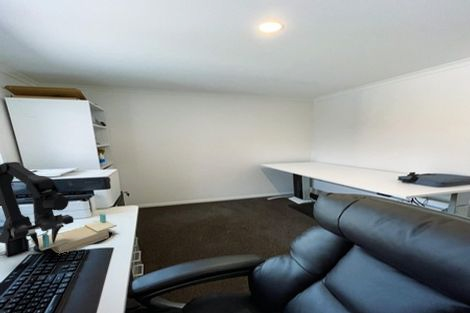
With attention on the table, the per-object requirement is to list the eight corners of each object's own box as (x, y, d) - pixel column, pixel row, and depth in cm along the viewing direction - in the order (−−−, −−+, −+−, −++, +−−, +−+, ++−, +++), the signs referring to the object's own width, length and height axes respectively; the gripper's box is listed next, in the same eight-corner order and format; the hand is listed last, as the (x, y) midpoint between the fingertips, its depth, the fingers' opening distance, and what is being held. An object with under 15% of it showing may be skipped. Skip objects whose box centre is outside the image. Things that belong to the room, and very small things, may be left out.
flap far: (97, 232, 103) (96, 222, 103) (84, 225, 111) (84, 216, 111) (116, 226, 110) (116, 216, 110) (103, 220, 119) (102, 211, 118)
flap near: (41, 250, 86) (40, 238, 85) (31, 241, 94) (30, 230, 94) (68, 241, 93) (68, 230, 93) (57, 233, 102) (56, 223, 101)
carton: (59, 255, 90) (58, 246, 90) (47, 245, 99) (46, 237, 99) (108, 237, 107) (108, 229, 106) (94, 230, 116) (94, 223, 116)
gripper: (15, 219, 75) (19, 261, 76) (77, 206, 91) (79, 241, 92) (9, 213, 82) (12, 252, 83) (67, 202, 97) (69, 235, 98)
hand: (45, 244), depth 89 cm, fingers open, 5 cm apart
